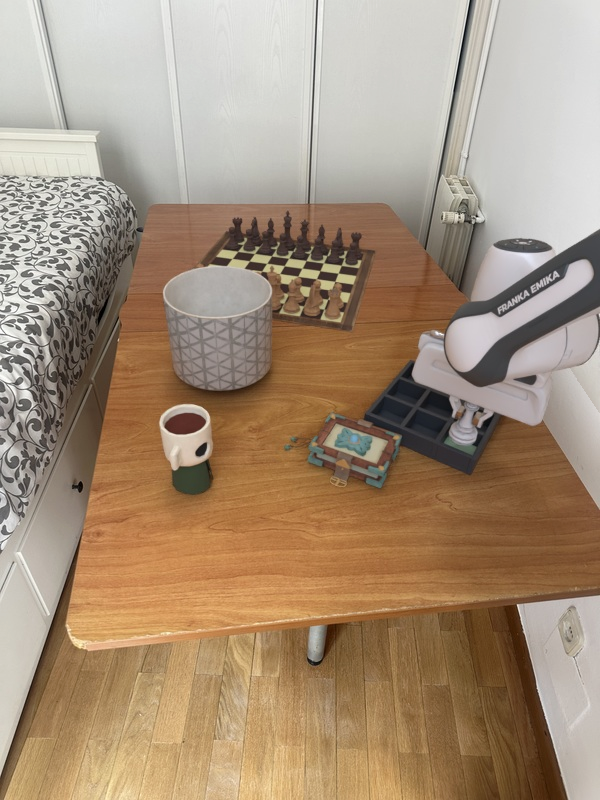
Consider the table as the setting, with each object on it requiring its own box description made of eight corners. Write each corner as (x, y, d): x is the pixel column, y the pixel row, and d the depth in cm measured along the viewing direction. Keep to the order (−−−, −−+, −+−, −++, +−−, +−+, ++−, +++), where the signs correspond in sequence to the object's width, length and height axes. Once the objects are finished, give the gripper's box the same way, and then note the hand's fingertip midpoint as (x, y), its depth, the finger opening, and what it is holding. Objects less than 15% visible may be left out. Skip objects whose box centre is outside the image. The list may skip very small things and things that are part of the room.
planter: (272, 403, 99) (273, 317, 88) (168, 404, 98) (155, 317, 86) (271, 345, 114) (271, 266, 102) (180, 345, 112) (170, 265, 101)
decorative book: (307, 415, 97) (309, 394, 94) (401, 447, 91) (406, 425, 88) (273, 463, 87) (273, 441, 84) (375, 502, 82) (380, 480, 79)
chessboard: (162, 302, 126) (156, 261, 119) (226, 231, 160) (224, 195, 153) (352, 332, 119) (357, 289, 112) (376, 250, 153) (381, 214, 147)
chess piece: (476, 431, 89) (492, 383, 83) (474, 449, 86) (491, 400, 80) (449, 425, 90) (463, 377, 84) (447, 442, 87) (461, 394, 81)
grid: (505, 410, 100) (510, 395, 98) (470, 475, 87) (476, 460, 85) (407, 374, 108) (410, 359, 105) (362, 428, 95) (364, 413, 92)
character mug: (202, 513, 79) (195, 450, 71) (157, 504, 80) (144, 441, 72) (225, 461, 87) (221, 399, 79) (184, 453, 88) (175, 392, 80)
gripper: (413, 335, 79) (399, 407, 88) (557, 384, 71) (525, 457, 80) (430, 317, 83) (414, 387, 92) (567, 361, 75) (536, 433, 84)
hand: (467, 420), depth 86 cm, fingers closed on chess piece, 2 cm apart
